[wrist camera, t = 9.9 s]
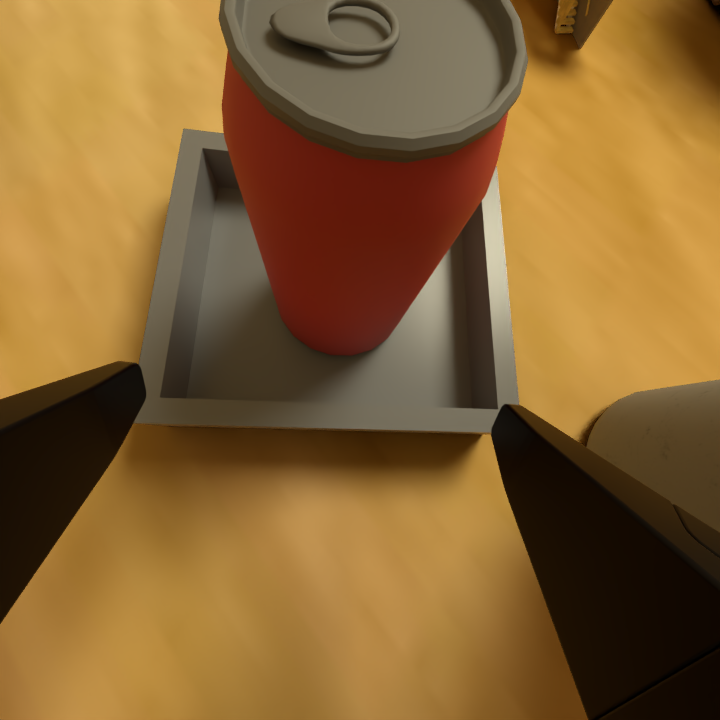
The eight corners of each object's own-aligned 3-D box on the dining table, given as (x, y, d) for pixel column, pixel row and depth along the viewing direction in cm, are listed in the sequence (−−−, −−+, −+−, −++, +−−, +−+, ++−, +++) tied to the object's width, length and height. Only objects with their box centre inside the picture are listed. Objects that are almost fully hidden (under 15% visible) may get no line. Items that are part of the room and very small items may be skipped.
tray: (483, 434, 17) (522, 433, 14) (168, 426, 16) (127, 422, 12) (468, 210, 21) (496, 166, 17) (207, 183, 19) (183, 128, 16)
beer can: (270, 249, 17) (175, -124, 6) (389, 239, 18) (505, -95, 7) (284, 367, 16) (195, 182, 4) (412, 350, 17) (606, 163, 6)
